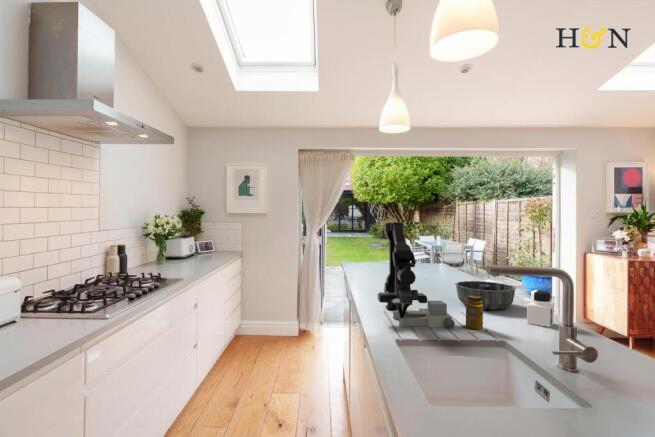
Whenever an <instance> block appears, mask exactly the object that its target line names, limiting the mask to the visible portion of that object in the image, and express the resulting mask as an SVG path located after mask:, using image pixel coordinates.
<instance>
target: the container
mask: <svg viewBox="0 0 655 437" xmlns="http://www.w3.org/2000/svg"><path fill="white" fill-rule="evenodd" d="M530 301H531V302H529V303H527V305H526V307H527V309H526V323H527V324H528V323H529V324H528V325H533V324H534V325H533V326H538V325H540V327H543V326H550V325H551V324H552V323H553V324H554V314H555V313H554V312H555V310H554V308H555V306H554V304H553V303H551V293H550V292H549V291H547V290H542V289H541V290H540V289H535V290H532V291H531V292H530ZM553 324H552V325H553ZM552 325H551V326H552ZM551 326H550V327H551Z"/></svg>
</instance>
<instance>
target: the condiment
mask: <svg viewBox="0 0 655 437" xmlns="http://www.w3.org/2000/svg"><path fill="white" fill-rule="evenodd" d="M457 328H459V329H462V330H465V331H467V332H471V333H478V332H483V331H485V330H489V329H488V328H487V327H484V309H483V304H482V297H480V296H475V295H470V296H467V303H466V305H465V324H464V325H459V326H458V325H457Z"/></svg>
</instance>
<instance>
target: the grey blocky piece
mask: <svg viewBox="0 0 655 437" xmlns="http://www.w3.org/2000/svg"><path fill="white" fill-rule="evenodd" d="M447 309H448V307H447V303H446V302H444V301H442V300H427V308H419V310H418V311H422V312H424V313H425V317H406V318H405V317H403V318H400V316H399V313H398V310H392V318H393V319H394V320H398V327H399V328H402V329H403V328H405V327H428V328H447V329H453V328H454V327H455V325H456V322H455V320H454V319H452V318H453V317H452V315H450V314H449V313H447V312H448V310H447Z"/></svg>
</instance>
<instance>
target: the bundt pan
mask: <svg viewBox="0 0 655 437" xmlns="http://www.w3.org/2000/svg"><path fill="white" fill-rule="evenodd" d="M454 285H455V287H456V294H457V297H458V300H459V301H460V302H461V303H462V304H464V305H465V306H466V303H467V296H470V295H475V296H480V297H482V304H483V311H484V310H487V309H489V310H491V311H492V310H493V311H494V310H497V311H501V310H503V309H507V308H509V307H510V306H511V305H512V304H513V302H514V299H515V292H516V290H517V287H514V285H511V284H506V283H501V282H493V281H481V280H479V281H478V280H463V281H456V283H454Z"/></svg>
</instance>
